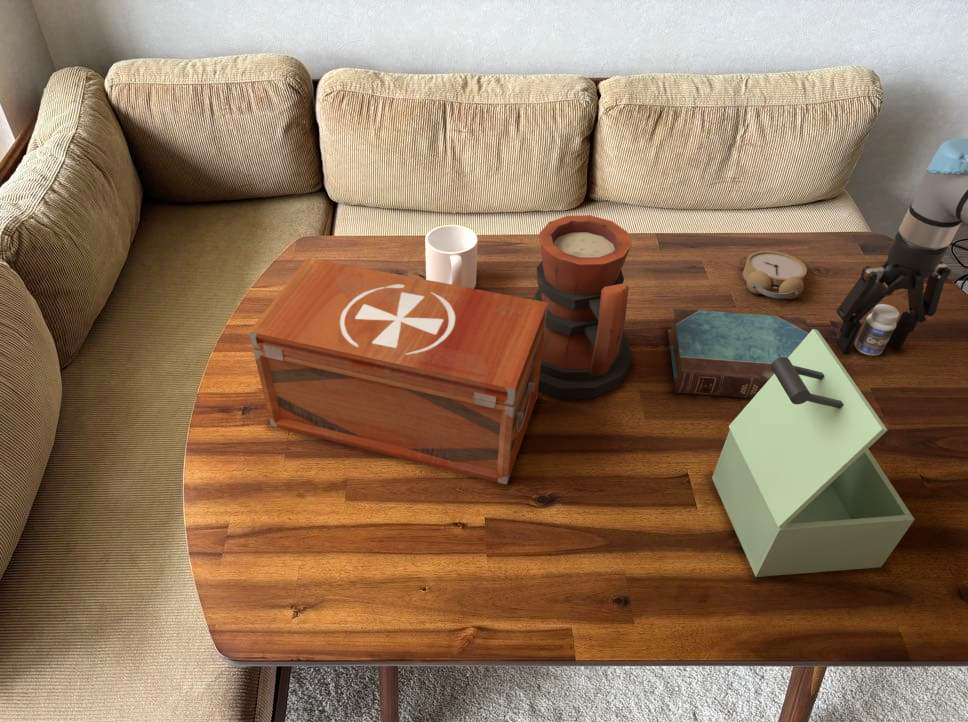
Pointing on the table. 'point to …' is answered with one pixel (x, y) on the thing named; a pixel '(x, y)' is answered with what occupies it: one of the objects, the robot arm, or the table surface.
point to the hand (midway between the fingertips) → (868, 346)
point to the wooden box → (402, 366)
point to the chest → (814, 519)
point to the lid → (804, 428)
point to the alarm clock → (774, 274)
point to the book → (729, 350)
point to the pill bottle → (877, 330)
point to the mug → (451, 255)
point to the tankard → (583, 307)
